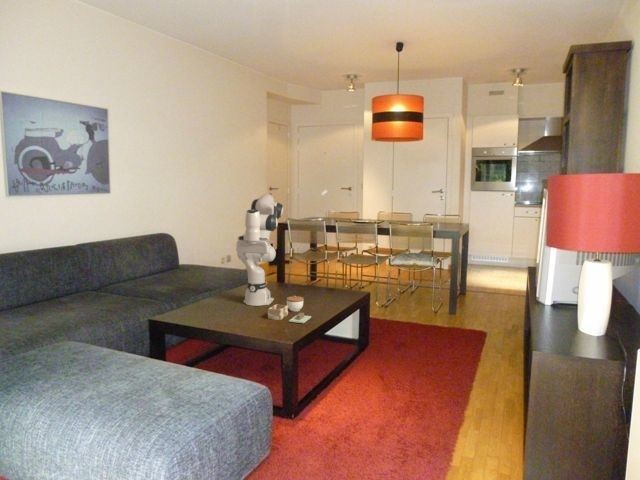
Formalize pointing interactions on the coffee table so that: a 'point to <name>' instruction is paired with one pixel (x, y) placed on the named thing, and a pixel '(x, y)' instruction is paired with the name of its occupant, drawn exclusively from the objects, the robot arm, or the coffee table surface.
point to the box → (277, 312)
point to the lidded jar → (295, 303)
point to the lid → (300, 318)
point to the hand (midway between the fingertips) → (253, 260)
